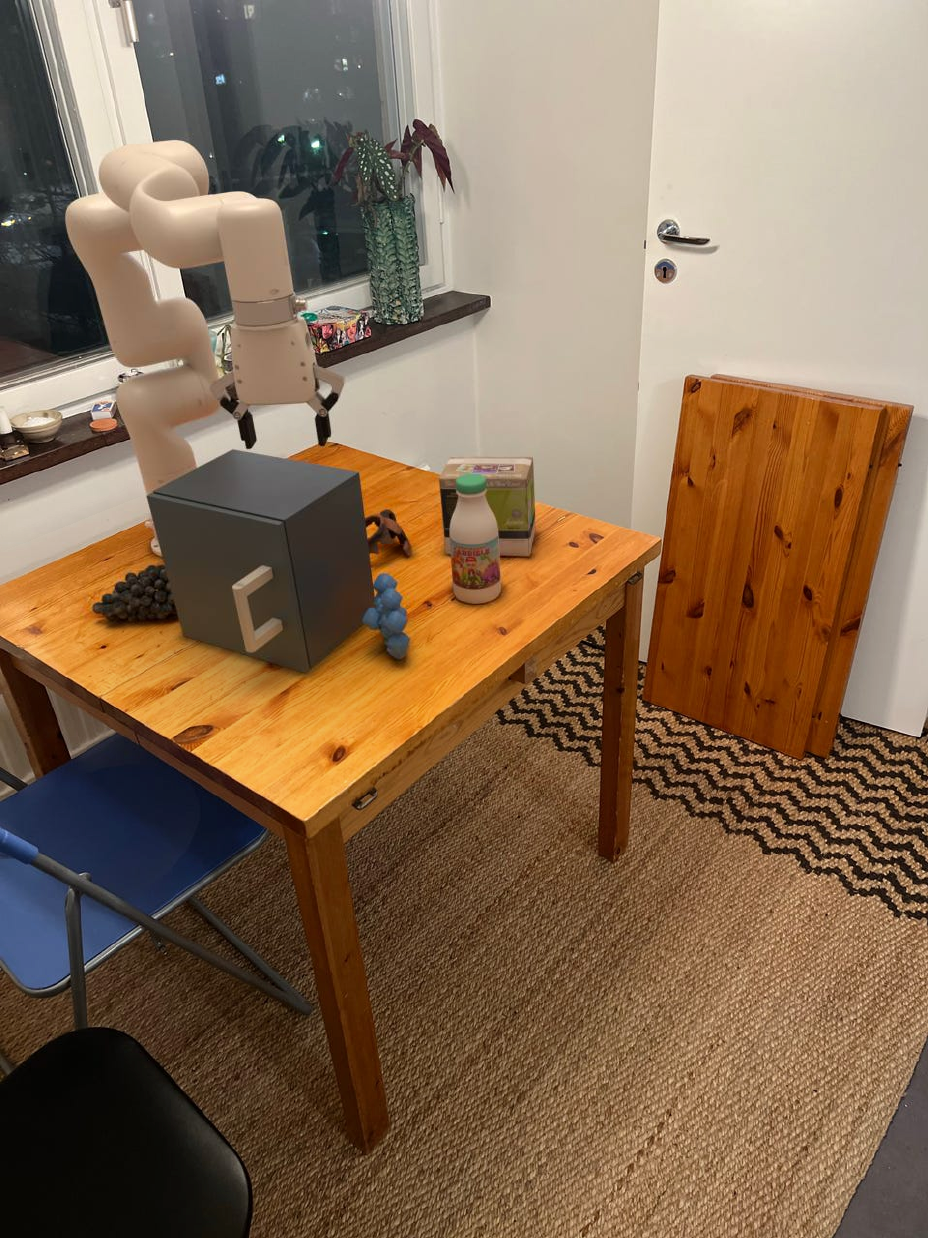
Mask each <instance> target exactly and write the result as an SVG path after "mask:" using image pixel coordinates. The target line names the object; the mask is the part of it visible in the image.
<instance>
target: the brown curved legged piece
mask: <svg viewBox="0 0 928 1238" xmlns="http://www.w3.org/2000/svg"><path fill="white" fill-rule="evenodd" d="M365 522H366V529H367V528H368V527H369V526H371V525H372V524H373V523H374V525H375V526H376V527H377V530H376V531H375V532H374V533H373V534H372V535H371V536H370V537H367V538H368V546H369V554H370V555H371V554H375V555H380V552H379V544H382V545H383V544H392V543H394V539H395V538H397V540H398V543H399V545H401V546H402V551H403V552H405V556H406V557H407V558H410V556H411V554H412V546H411V544H410V541H409V538H408V537H407V534H406V532H405V531H404V529H403V527H402V526H401V525H400V524H399V523H398V522H397V517H396V515H395V513H394V512H393V510H391V509H388V508H385V509H384V510H381V511H380V512H379V513H374V514H370V515H368V516H365ZM378 543H379V544H378Z"/></svg>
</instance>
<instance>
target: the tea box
mask: <svg viewBox="0 0 928 1238" xmlns="http://www.w3.org/2000/svg"><path fill="white" fill-rule="evenodd" d="M534 472H535V471H534V457H533V456H450V457H449V458H448V459H447V461H446V464H445V466H444V467H443V470H442V472H441V474H440V476H439V477H438V485H439V494H440V496H439V497H440V507H441V518H442V519H441V520H442V527H443V528H442V530H443V540H444V550H445V555H451V551H450V523H451V519H452V516H453V513H454V511H455V509H456V506H457V502H458V494H457V493H456V491H457V489H456V479H457V478H458V477H459V476H461V475H464V474H470V473H475V474H480V475H483V476H484V477H485V478H486V489H487V491H486V493H485V496H486V500H487V502H488V505H489V507H490V509H491V510H492V512H493V514H494V516H495V519H496V522H497V526H498V535H499V552H500V557H501V556H503V557H504V556H505V557H531V552H532V546H533V542H534V539H535V534H536V499H535V496H536V495H535V476H534V474H535V473H534Z"/></svg>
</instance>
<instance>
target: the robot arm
mask: <svg viewBox="0 0 928 1238" xmlns="http://www.w3.org/2000/svg"><path fill="white" fill-rule="evenodd" d="M98 181H99V185H100V186H101V189H102V191H103V192H98V193H93V194H89V195H86V196H82V197H79V198H77V199H75V200H73V201H72V202H71V203H69V205H67V208H66V211H65V217H64V218H65V228H66V232H67V235H68V239H69V241H70V244H71V246H72V249H73V250H74V252H75V254H76V255H77V258H78V259H79V260H80V262H81V264H82V266H83V267H84V269H85V270H86V272H87V274H88V277H90V280H91V282H92V285H93V287H94V290H95V294H96V298H97V301H98V305H99V310H100V312H101V316H102V319H103V323H104V328H105V331H106V334H107V338H108V342H109V345H110V348H111V351H112V354H113V355H114V358H115V359H116V361H117V362H118V363H119V364H120V365H122V366H123V367H125V368H134V369H135V368H141V367H148V366H152V365H157V364H161V363H166V362H170V361H174V360H178V359H181V361H182V364H179V365H174V366H172V367H171V366H170V367H167V368H162V369H161V368H160V369H157V370H153V371H149V372H145V373H141V374H137V375H133V376H132V377H130V378H128V379H126V380H124V381H123V382H121V384H119V386H118V387H117V388H116V392H115V404H116V407H117V410H118V412H119V415H120V418H121V420H122V421H123V424H124V426H125V429H126V431H127V433H128V435H129V438H130V442H131V444H132V446H133V447H132V448H133V450H134V453H135V456H136V457H135V458H136V460H137V464H138V467H139V471H140V475H141V478H142V483H143V486H144V490H145V494H146V496H147V495H148V494H150V493H153V491H154V490H156V489H158V488H160V487H162V486H163V485H165V484H167V483H169V482H171V481H173V480H175V479H177V478H179V477H181V476H183V475H185V474H186V473H188V472H190V471H192V470H194V469H196V468H198V465H197V462H196V458H195V454H194V450H193V447H192V446H191V445H190V443H189V442H188V441H187V440H186V439H185V438H183V437H181V436H180V435H179V434H177V433H176V432H175V430H174V429H175V428H176V427H179V426H182V425H184V424H188V423H192V422H195V421H200V420H203V419H205V418H209V417H212V416H214V415H215V414H217V413H218V412H219V411H220V410H221V408H223V409H224V410H226V411H227V412H228V413H229V414H230V415H231V416H232V417H233V419H234V420H235V421H236V422H237V426H238V432H239V437H240V440H241V442H244V446H245V449H246V450H251V449H252V448H254V446H255V444H256V443H257V441H258V438H257V432H256V428H255V421H254V416H253V414H252V413H251V411H249V408H250V406H273V405H275V406H276V405H277V406H278V405H295V404H296V405H297V404H307V405H308V406H309V407H310V408H311V409H312V410H313V411H314V412H315V413H316V415H315V417H314V423H315V430H316V437H317V438H316V439H317V444H318V446H320V447H325V446H326V444H327V442H328V441H329V438H331V437H332V426H331V419H330V413H329V412H330V411H331V410H332V408H333V407H335V405H336V404H337V403H338V402H339V399H340V397H341V394H342V392H343V389H344V387H345V384H346V378H345V377H344V376H343V375H341V374H338V373H336V372H334V371H331V370H329V369H327V368H324V367H322V366H320V365H318V362H317V358H316V354H315V349H314V344H313V341H312V337H311V334H310V331H309V327H308V325H307V322H306V319H305V317H304V316H298V315H299V313H302V312H303V311H308V300H307V298H301V297H298V296H297V295H296V294H297V293H296V292H295V291H294V284H293V278H292V272H291V265H290V259H289V252H288V251H289V250H288V245H287V238H286V232H285V226H284V225H285V224H284V219H283V213H282V210H281V208H280V206H279V205H278V203H277V202H276V201H274V200H273V199H269V198H260V197H259V198H258V197H256V196H254V195H253V194H251V193H249V192H246V191H227V192H222V193H216V194H209V189H210V176H209V172H208V168H207V165H206V162H205V160H204V159H203V157H202V154H200V152H199V150H197V149H196V148H195V146H193V145H191V144H190V143H188V142H186V141H183V140H179V139H171V140H163V141H162V140H160V141H152V142H142V143H135V144H127V145H122V146H119V147H116V148H113V149H111V150H110V151H109V152H107V153H106V154H105V155H104V157H103V158H102V160H101V162H100V163H99V168H98ZM137 251H138V252H140V251H143V252H145V254H146V255H148V256H149V257H150V258H152V259H154V260H156V261H157V262H159V263H160V264H162V265H164V266H166V267H168V268H172V269H177V270H179V269H192V268H197V267H200V266H206V265H210V264H211V265H212V264H216V263H221V262H224V268H225V273H226V280H227V285H228V290H229V294H230V301H231V305H232V306H231V307H232V312H233V316H234V321H233V322H232V324H231V325H230V326H231V327H230V349H231V363H232V370H231V371H229V372H227V373H226V374H225V375H223V376H221V377H220V376H219V371H218V367H217V363H216V357H215V352H214V349H213V344H212V339H211V335H210V330H209V326H208V324H207V321H206V319H205V316H204V314H203V312H202V311H201V309H200V307H199V306H198V305H197V304H196V302H194V301H193V300H192V299H190V298H188V297H185V296H174V297H168V298H163V299H159V300H156V298H155V296H154V293H153V292H154V291H153V290H152V289H153V288H152V285H151V284H152V283H151V280H150V276H149V274H148V272H147V269H145V267H144V266H143V264H141V262H140V261H139V260H138V259H137V258H135V257H134V256H133V255H132V254H131V253H133V252H137ZM321 382H323V383H326V384H328V385H330V386H331V390H330V392H329V394H328V395H327V396H326V397H325V396H324V395H322V393H320V392H319V390H320V389H321ZM233 384H234V387H235V391H236V396H237V399H238V400H236V399H235V398H234V397H233V396H232V395H230V394H229V393H228V391H227V387H230V386H231V385H233ZM144 528H145V529H147V530H152V531H153V535H154V537H153V538H152V540H151V541H150V546H151V551H152V552H153V553H152V554H154V555H156V556H158V557H161V558H162V554H161V550H160V546H159V542H158V539H157V535H156V531H155V527H154V523H153V520H152V516H151V513H150V514H149V516H148V520H147V521H145V522H144Z"/></svg>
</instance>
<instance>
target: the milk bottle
mask: <svg viewBox="0 0 928 1238" xmlns="http://www.w3.org/2000/svg"><path fill="white" fill-rule="evenodd" d="M456 489H457V491H456V493H457V494H458V502H457V506H456V509H455V511H454V513H453V516H452V519H451V523H450V551H451V554H450V564H451V566H450V567H451V578H452V588H453V594H454V597H456V599H457V600H459V601H460V602H463V603H465V604H471V605H472V604H474V605H478V604H485V603H490V602H492V601H494V600H496V599H497V598H498V597H499V595H500V593H501V590H502V578H501V558H500V557H501V556H500V552H499V535H498V526H497V522H496V519H495V516H494V514H493V512H492V510H491V509H490V507H489V505H488V502H487V500H486V496H485V493H486V491H487V489H486V478H485V477H484V476H483V475H480V474H475V473H470V474H464V475H461V476H459V477H458V478H457V479H456Z"/></svg>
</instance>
